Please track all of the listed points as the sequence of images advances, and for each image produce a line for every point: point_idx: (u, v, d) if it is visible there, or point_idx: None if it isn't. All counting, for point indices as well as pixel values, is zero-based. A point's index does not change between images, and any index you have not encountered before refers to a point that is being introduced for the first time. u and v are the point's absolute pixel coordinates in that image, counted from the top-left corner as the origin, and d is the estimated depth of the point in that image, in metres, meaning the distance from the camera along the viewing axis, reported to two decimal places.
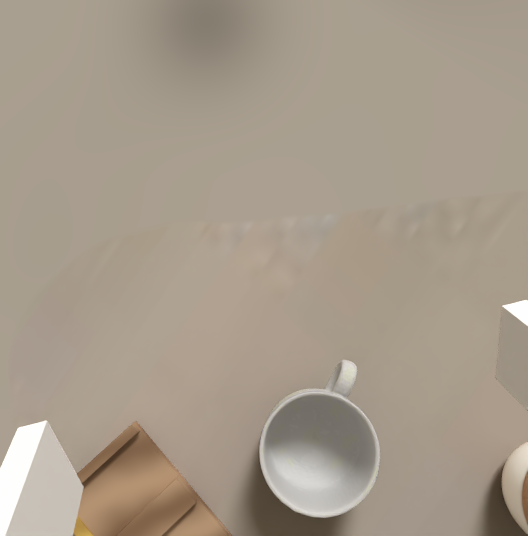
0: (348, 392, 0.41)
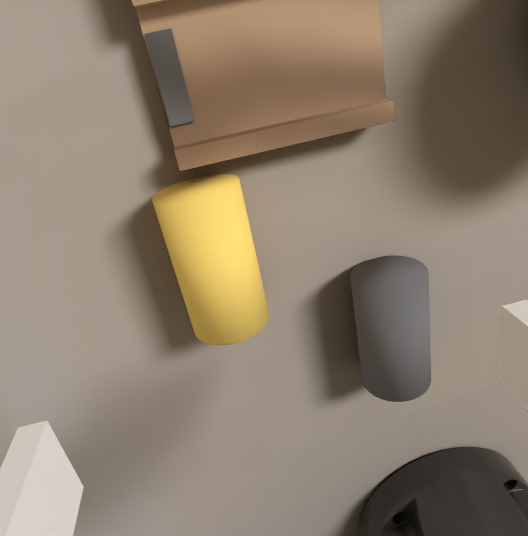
0: None
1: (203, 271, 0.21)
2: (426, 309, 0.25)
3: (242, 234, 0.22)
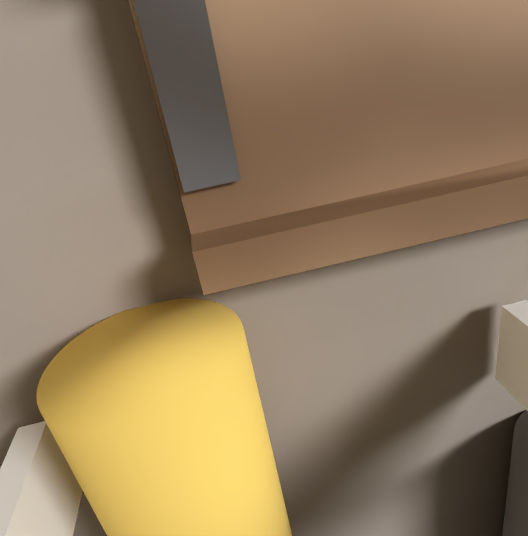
0: None
1: None
2: None
3: (158, 520, 0.09)
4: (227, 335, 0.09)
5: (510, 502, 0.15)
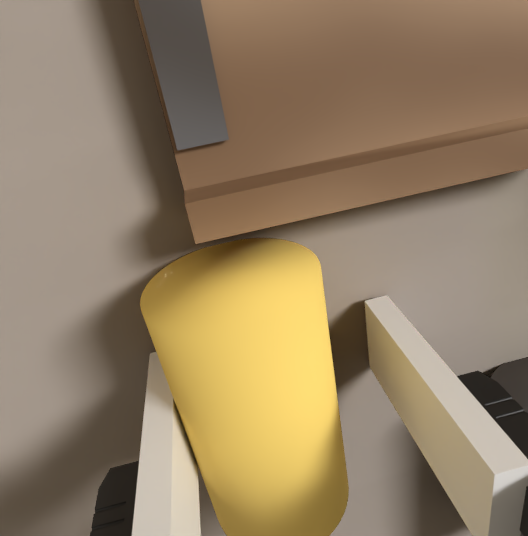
0: None
1: (214, 447, 0.11)
2: None
3: (304, 396, 0.10)
4: (284, 248, 0.12)
5: None
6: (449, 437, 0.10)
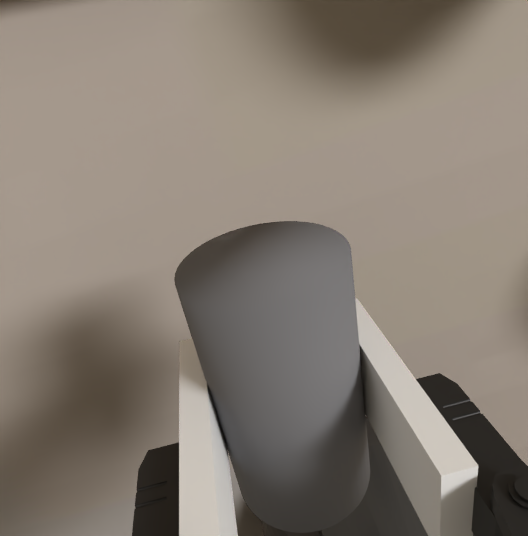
0: None
1: None
2: (331, 360, 0.10)
3: None
4: None
5: None
6: (405, 439, 0.10)
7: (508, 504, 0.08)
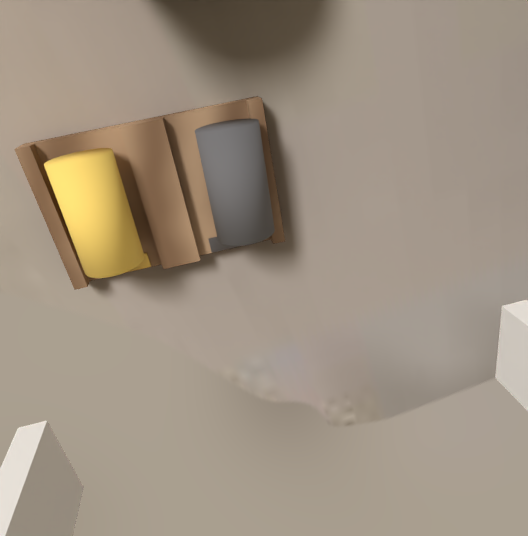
0: None
1: (81, 217, 0.29)
2: (259, 154, 0.30)
3: (112, 192, 0.29)
4: (99, 149, 0.30)
5: None
6: None
7: None
